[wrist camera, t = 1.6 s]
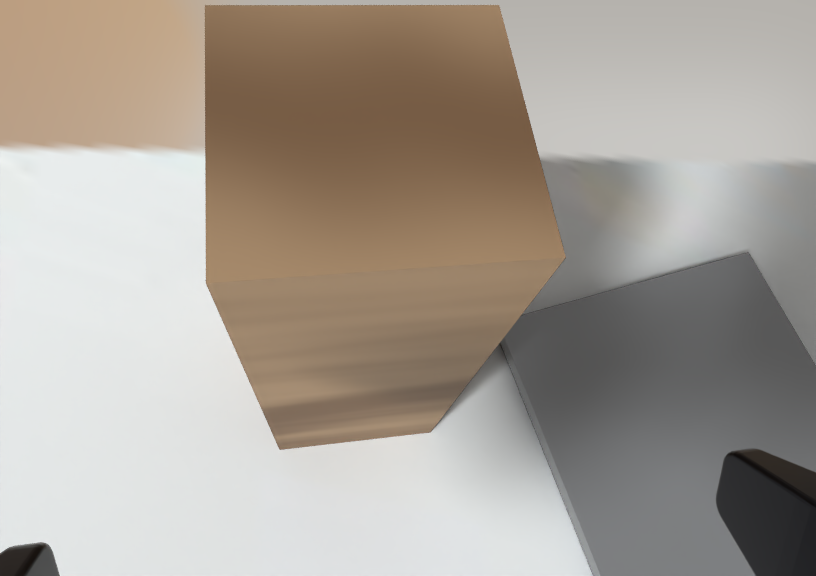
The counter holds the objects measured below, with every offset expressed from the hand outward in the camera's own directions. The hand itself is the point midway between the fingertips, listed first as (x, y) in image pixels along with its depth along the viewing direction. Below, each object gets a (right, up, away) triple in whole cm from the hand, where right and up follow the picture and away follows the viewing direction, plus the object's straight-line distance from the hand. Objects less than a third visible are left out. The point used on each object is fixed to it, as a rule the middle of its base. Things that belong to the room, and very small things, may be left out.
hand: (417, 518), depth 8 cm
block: (-2, 0, +13) cm, 13 cm away
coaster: (+10, -2, +14) cm, 17 cm away
